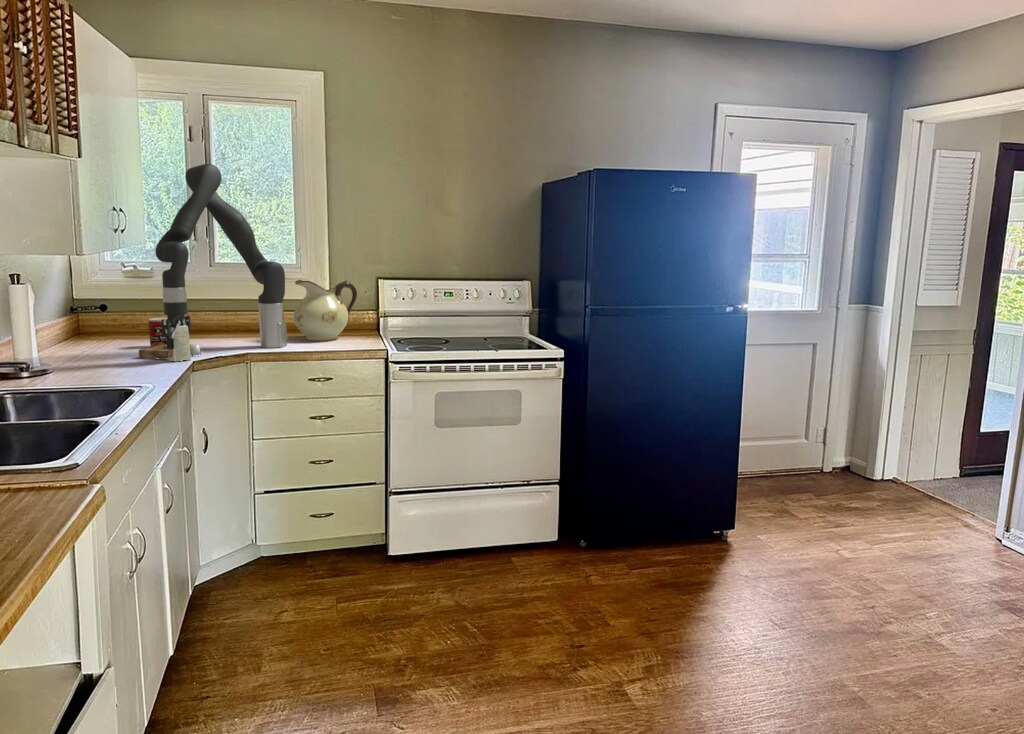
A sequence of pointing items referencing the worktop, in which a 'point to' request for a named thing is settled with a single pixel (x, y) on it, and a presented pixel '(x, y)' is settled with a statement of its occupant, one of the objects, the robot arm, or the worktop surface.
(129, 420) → the worktop surface
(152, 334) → the canned food
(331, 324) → the pitcher
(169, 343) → the robot arm
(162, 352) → the holder
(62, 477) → the worktop surface
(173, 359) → the skincare box
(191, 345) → the grey round ball
